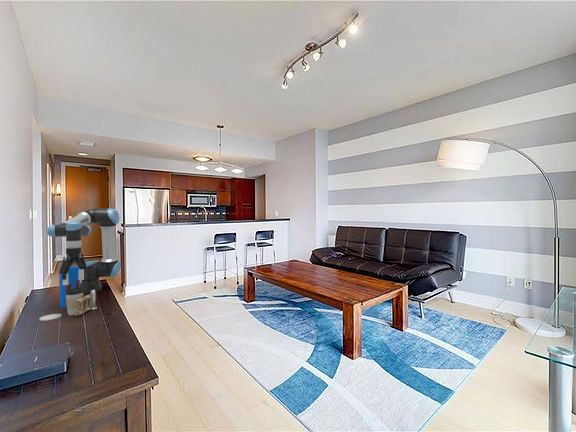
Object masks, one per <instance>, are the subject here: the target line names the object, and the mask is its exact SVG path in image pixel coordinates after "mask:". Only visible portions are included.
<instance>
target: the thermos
mask: <svg viewBox="0 0 576 432" xmlns="http://www.w3.org/2000/svg"><path fill="white" fill-rule="evenodd" d="M79 269H80V268H79V267H78V265H71V267H70V269H69V271H68V273H67V274H68V285H63V280H62V274H59V273H58V275H59V278H58V279H59V289H58V290H59V291H58V292H59V307H60V308H67V304H66V292H67V291H68V290H69V289H74V288H78V287H79V288H80V284H81V280H79Z"/></svg>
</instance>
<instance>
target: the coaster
mask: <svg viewBox="0 0 576 432" xmlns="http://www.w3.org/2000/svg"><path fill="white" fill-rule="evenodd" d="M61 317H62V314H61V313H51V314H47V315H43V316H41V317H39V321H41V322H44V321H45V322H47V321H48V322H49V321H53V320H56V319H59V318H61Z"/></svg>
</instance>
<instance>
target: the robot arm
mask: <svg viewBox="0 0 576 432" xmlns="http://www.w3.org/2000/svg"><path fill="white" fill-rule="evenodd" d="M119 222H120V215H119V212H118V210H117V209H115V208H89V209H87V210H83V211H81V212H78V214H77V215H76V216H73V217H72V218H69V219H68V220H67V219H66V221H62V222H61V223H58V224H49V225H48V226H47V229H46V232H47V233H46V234H47V235H48V236H49V237H54V238H57V237H58V238H59V237H65V254H66V255H67V256H64V257H63V259H62V263H61V266H60V267H59V272H58V275H59V274H62V280H63V285H68V274H67V273H68V271H69V269H70V267H71V266H73V265H74V264H76V266H78V267H79V268H80V269H79V280H80V288H81V289H82V290H83V291H84V292H83V294H89V293H90V294H91V290H95V293H97V292H100V291H102V290H103V286H102V283H101V281H100V278H108V277H109V278H111V277H112V278H113V277H117V276H119V274H120V272H121V270H122V263H121V261H119V259H118V257H117V255H116V236H115V235H116V233H115V232H116V231H115V229H116V227H117V224H119ZM89 224H91V225H92V224H95V225H96V224H98V227H99V228H100V229H101V243H102V244H101V246H102V249H101V250H102V259H101V260H100V259H96V260H95V259H94V260H89V261H85V258H84V254H83V253H82V237H87V236H89V235H91V233H92V228H91V226H90V225H89Z"/></svg>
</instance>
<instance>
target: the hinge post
mask: <svg viewBox="0 0 576 432" xmlns="http://www.w3.org/2000/svg"><path fill="white" fill-rule="evenodd" d="M90 294H93V308H92V309H90V311H93V310H97V309H98V306H96V292H95V290H91V293H90Z"/></svg>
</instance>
